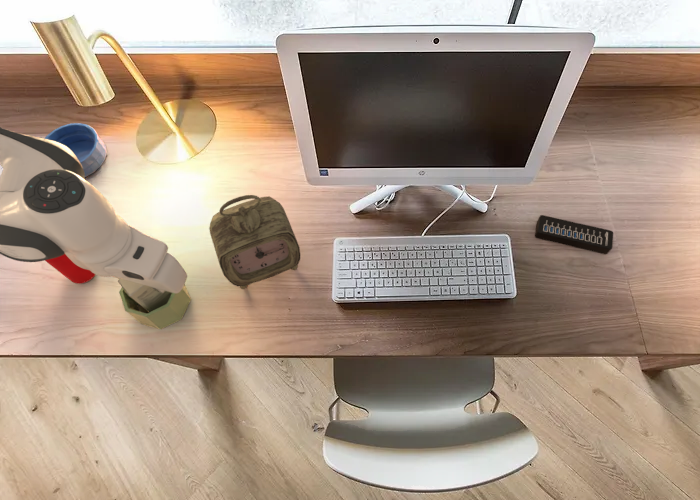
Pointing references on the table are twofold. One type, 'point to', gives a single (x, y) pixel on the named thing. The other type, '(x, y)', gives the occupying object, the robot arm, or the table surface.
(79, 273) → the beverage can
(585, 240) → the multiport hub
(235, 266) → the tabletop clock
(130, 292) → the cosmetic box
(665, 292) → the table surface
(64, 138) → the bowl
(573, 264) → the table surface
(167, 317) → the green octagonal planter
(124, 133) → the table surface
